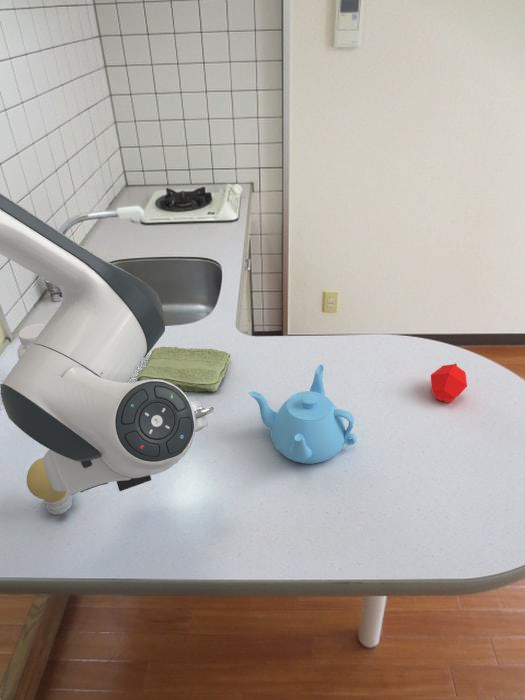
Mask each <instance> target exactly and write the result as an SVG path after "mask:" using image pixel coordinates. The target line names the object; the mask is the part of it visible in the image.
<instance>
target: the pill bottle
mask: <svg viewBox="0 0 525 700" xmlns="http://www.w3.org/2000/svg"><path fill="white" fill-rule="evenodd" d="M45 326H46V324H43V323H34V324H28V325H26V326H25V327H22V329H20V330H19V331H18V335H17V336H18V340H19V342H20V344H19V346H18V347H17V352H16V353H17V357H18V360H19V359H20V358H21V356H22V355H23V354H24V352H25V351H26V350H27V348H28V347H29V346H30V344H32V343H33V342H34V340H35V339H36V338H37V336H38V335H39V334H40V332H41V331H42V330H43V328H44V327H45Z"/></svg>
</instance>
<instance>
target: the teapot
mask: <svg viewBox="0 0 525 700" xmlns="http://www.w3.org/2000/svg"><path fill="white" fill-rule="evenodd" d="M323 375H324V365H323V364H319V365H318V366H316V369H315V371H314V377H313V380H312V383H311V387H310V388H309V391H307V390H306V391H300V392H297V393H295V394H292V395H291V396H290V397H288V398H287V399H286V401H284V402H283V404H282V405H281V406H280V407H279V409H278V410H277V411H274V410H273V409H271V407H269V404H268V401H267V399H266V397H265V396H264V395H263V394H261V393H259V392H256V391H249V392H248V395H249V396H251V398H253V399H254V400H255V401H256V402H257V404H258V406H259V412H260V418H261V421H262V423H263V425H264V426H265V427H267V429H269V430H270V431H271V432H270V436H271V441H272V444H273V446H274V448H275V449H276V450H277V451H278V452H279V453H280V454H281V455H283V457H285V458H287V459H289V460H291V461H294V462H296V463H301V464H309V465H312V464H319V463H323V462H326V461H328V460H330V459H332V458H334V457H335V456H336V455H338V453H340V451H341V450H342V449H343V447H344V445H347V446H353V445H355V443H356V442H357V435H355V434H354V433H351V432H352V430H353V427H354V425H355V418H354V416H353V414H352V413H351V412H350V411H347V410H346V409H341V408H339V409H338V407H337V406H336V405H335V404H334V403H333V402H332V400H331V399H329V397H327V396H326V392H325V388H324V382H323ZM344 419H345V420H347V421H348V425H347V427H346V424H345V421H344Z"/></svg>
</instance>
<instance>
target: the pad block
mask: <svg viewBox="0 0 525 700" xmlns="http://www.w3.org/2000/svg"><path fill="white" fill-rule="evenodd" d="M151 481H152V475H149V476H144V477H140V478H131V479H130V480H126V481H115V482H116V485H117V488H118V491H119V492H122V491H125V490H129V489H131V488H133V487H136V486H139V485H142V484H144V483H145V484H146V483H147V482H151Z"/></svg>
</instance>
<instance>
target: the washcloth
mask: <svg viewBox="0 0 525 700" xmlns="http://www.w3.org/2000/svg"><path fill="white" fill-rule="evenodd" d="M231 356H232V355H231V353H229V352H227V351H225V350H219V349H214V348H192V347H191V348H190V347H189V348H188V347H187V348H184V347H177V346H160V347H154V348H153V349H152V350H151V353H150V355H149V358H148V359H147V363H146V365H145V366H144V367H143V368H142V369H141V371H140V372H139V373H138V375H137V377H136V381H135V382H137V381H141V380H147V379H158V380H163V381H167V382H169V383H171V384H173V385H175V386H177V387H178V388H179V389H180V390H182V391H183V392H213V393H214V392H218V389H219V385H220V383H221V382H222V380H223V378H224V376H225V374H226V371H227V366H228V363H229V361H230V359H231Z"/></svg>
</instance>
